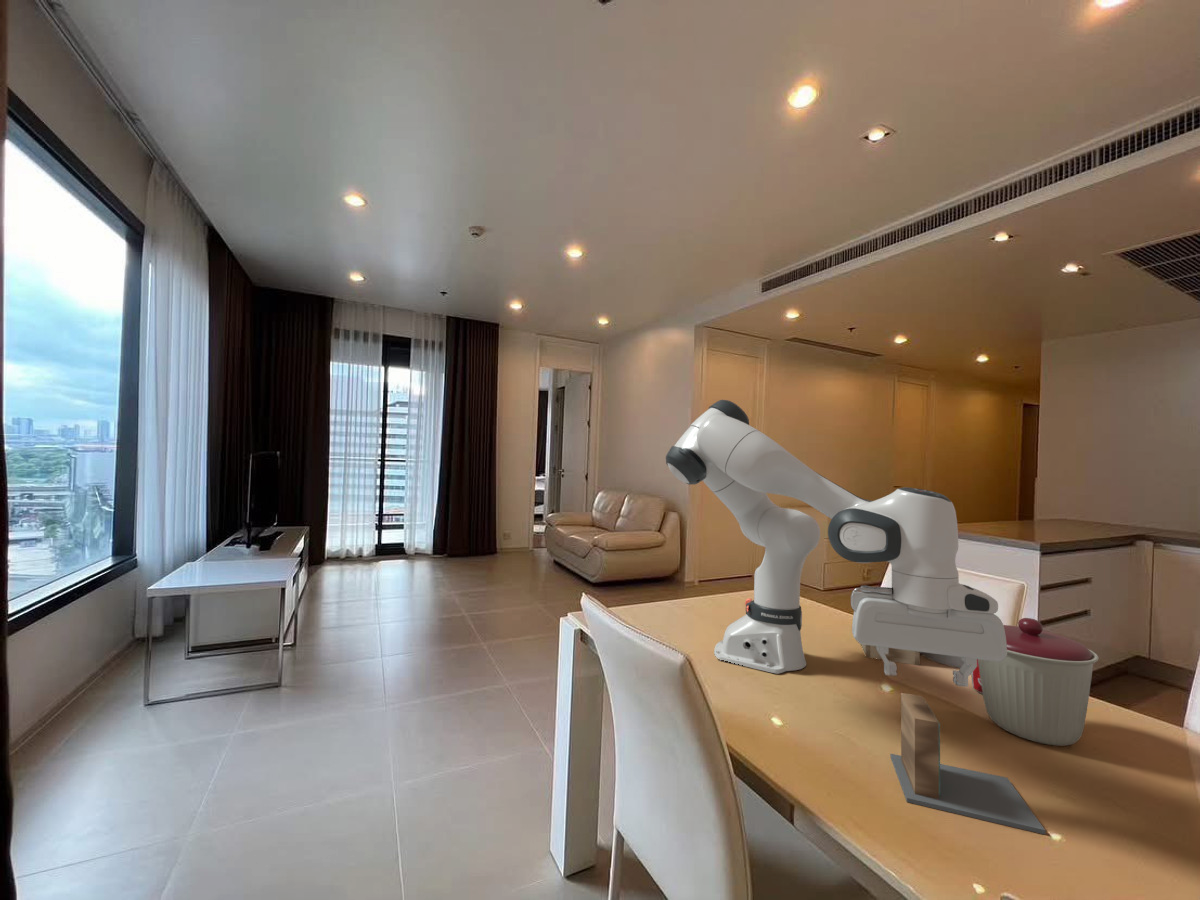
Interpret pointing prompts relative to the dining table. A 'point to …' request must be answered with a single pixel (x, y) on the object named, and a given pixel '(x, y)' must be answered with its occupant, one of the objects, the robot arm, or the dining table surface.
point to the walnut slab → (920, 745)
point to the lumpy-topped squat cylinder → (945, 659)
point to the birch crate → (894, 654)
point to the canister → (1039, 685)
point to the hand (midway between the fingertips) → (924, 679)
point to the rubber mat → (974, 796)
